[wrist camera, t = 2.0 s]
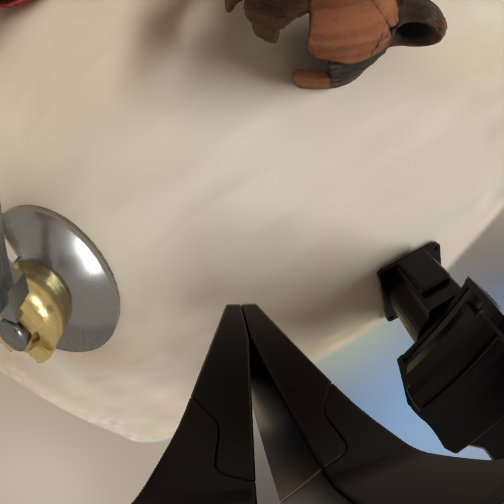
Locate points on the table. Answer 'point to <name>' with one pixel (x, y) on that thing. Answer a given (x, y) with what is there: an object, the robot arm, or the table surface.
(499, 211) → the table surface
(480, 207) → the table surface
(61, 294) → the lever valve handle
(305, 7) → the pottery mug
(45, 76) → the table surface
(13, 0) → the plant pot
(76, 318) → the spindle flange
